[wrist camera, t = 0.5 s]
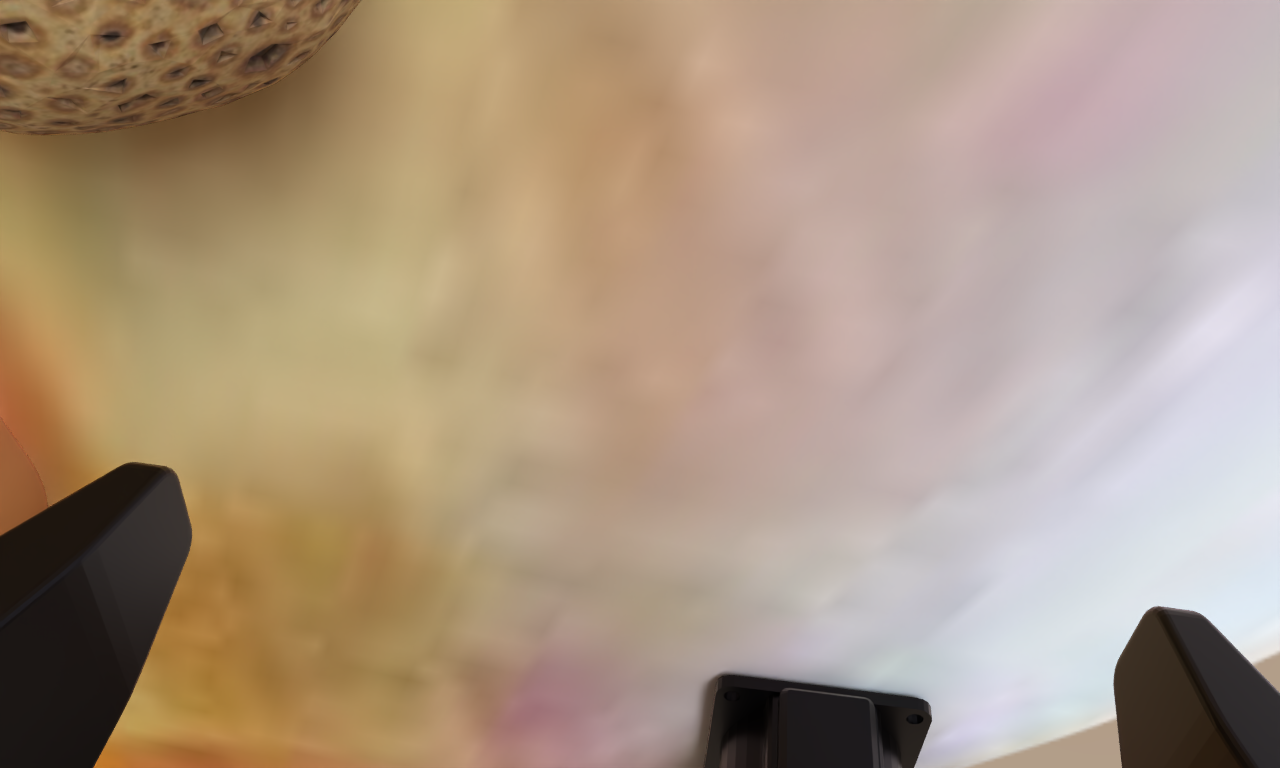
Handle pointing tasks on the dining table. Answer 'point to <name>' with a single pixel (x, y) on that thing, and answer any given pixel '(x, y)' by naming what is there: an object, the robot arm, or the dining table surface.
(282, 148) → the dining table surface
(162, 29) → the natural sponge
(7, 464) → the brown hollow cylinder
